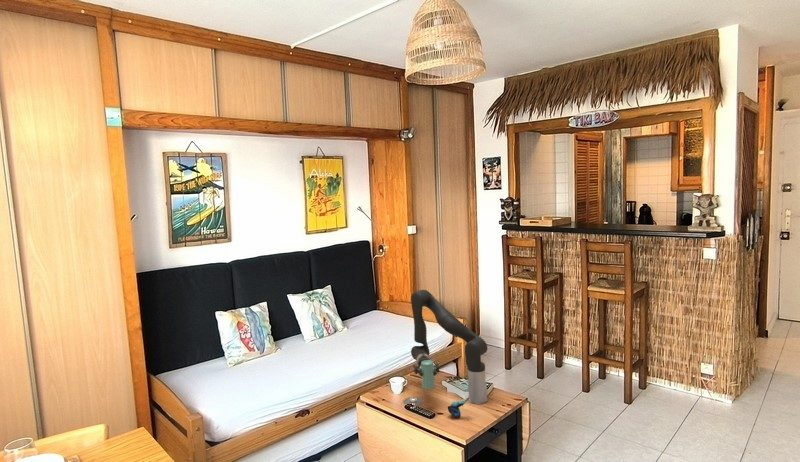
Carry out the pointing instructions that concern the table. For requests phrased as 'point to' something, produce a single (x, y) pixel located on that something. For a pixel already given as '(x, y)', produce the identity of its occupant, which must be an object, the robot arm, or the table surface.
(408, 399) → the slate plate
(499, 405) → the table surface
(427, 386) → the green cylinder
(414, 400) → the tealight
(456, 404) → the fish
